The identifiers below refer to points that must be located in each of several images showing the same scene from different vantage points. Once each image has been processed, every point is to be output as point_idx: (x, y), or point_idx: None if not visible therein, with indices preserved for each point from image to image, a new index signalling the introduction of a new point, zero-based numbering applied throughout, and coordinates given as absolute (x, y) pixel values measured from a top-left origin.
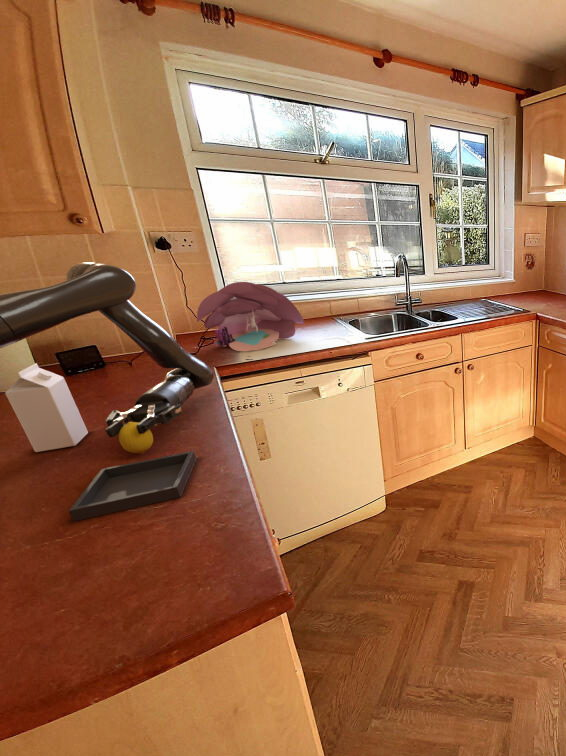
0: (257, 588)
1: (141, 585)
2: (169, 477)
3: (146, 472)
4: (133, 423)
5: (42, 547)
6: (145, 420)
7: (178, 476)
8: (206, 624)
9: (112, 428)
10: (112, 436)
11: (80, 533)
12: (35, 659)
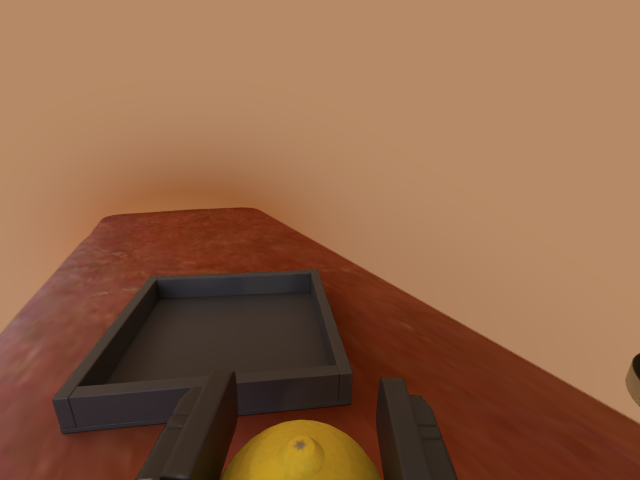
0: (119, 218)
1: (201, 229)
2: (165, 349)
3: None
4: (278, 455)
5: (325, 266)
6: (182, 429)
7: (140, 297)
8: (159, 212)
9: (383, 398)
10: (377, 414)
11: None
12: (256, 215)
